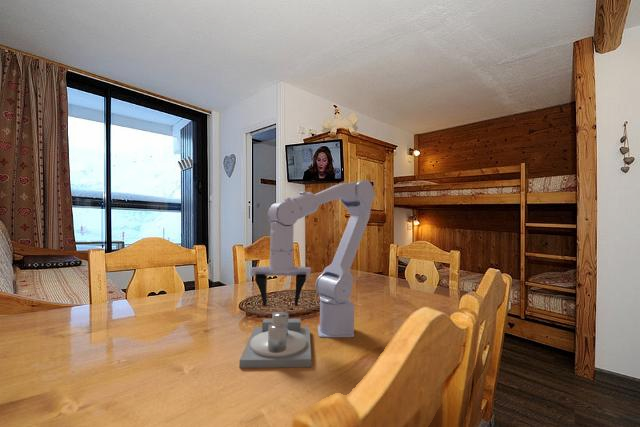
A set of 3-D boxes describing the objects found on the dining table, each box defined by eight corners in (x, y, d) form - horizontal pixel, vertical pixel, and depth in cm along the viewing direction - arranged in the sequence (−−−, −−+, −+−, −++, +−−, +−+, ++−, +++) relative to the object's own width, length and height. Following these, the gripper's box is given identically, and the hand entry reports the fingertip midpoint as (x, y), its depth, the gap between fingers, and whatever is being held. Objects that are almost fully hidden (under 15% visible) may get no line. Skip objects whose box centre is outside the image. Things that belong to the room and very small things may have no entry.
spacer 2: (286, 344, 66) (287, 322, 67) (285, 352, 62) (286, 329, 63) (269, 344, 66) (269, 322, 66) (266, 352, 62) (267, 329, 62)
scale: (309, 332, 81) (309, 317, 81) (311, 367, 62) (311, 347, 62) (254, 332, 80) (254, 318, 80) (239, 367, 61) (239, 348, 61)
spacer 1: (287, 330, 75) (287, 311, 75) (288, 336, 71) (289, 316, 71) (271, 331, 74) (271, 311, 74) (272, 337, 70) (272, 317, 70)
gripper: (309, 248, 77) (308, 300, 77) (254, 248, 76) (253, 300, 76) (311, 251, 70) (310, 308, 70) (250, 251, 69) (248, 308, 69)
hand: (280, 304), depth 72 cm, fingers open, 7 cm apart
